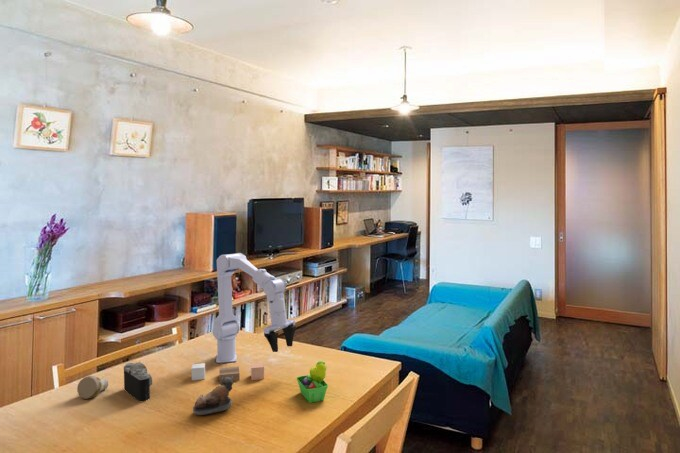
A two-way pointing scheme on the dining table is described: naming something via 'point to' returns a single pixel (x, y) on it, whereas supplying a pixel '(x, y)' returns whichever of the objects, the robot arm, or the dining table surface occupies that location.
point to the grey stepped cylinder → (91, 386)
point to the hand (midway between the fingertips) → (282, 348)
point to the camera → (137, 381)
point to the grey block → (198, 371)
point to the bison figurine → (215, 399)
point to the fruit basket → (314, 383)
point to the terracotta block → (257, 371)
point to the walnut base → (229, 373)
